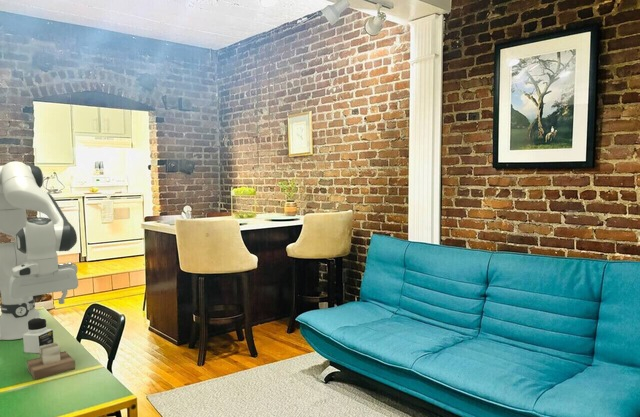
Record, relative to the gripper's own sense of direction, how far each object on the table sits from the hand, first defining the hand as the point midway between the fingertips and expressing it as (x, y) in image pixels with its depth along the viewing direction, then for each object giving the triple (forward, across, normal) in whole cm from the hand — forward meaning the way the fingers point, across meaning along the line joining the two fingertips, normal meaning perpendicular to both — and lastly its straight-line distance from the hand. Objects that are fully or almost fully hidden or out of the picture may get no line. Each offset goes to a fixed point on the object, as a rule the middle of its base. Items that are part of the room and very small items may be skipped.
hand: (46, 306), depth 162 cm
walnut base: (+22, 0, 0) cm, 22 cm away
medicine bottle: (+22, -1, -24) cm, 33 cm away
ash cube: (+19, 0, 0) cm, 19 cm away
